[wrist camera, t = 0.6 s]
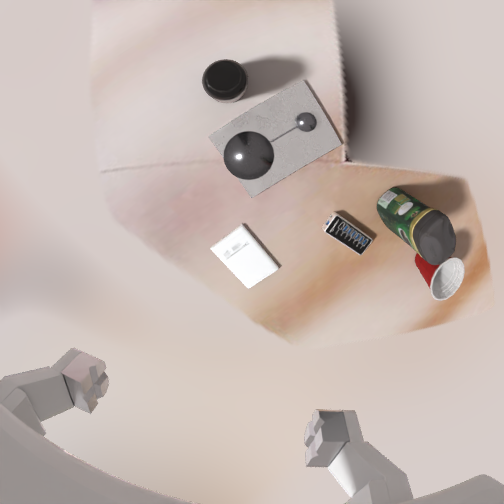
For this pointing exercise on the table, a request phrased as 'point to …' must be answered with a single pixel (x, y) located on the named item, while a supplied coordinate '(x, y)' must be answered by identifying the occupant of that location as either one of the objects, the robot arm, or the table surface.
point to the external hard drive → (244, 256)
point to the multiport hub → (346, 233)
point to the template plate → (275, 138)
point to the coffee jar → (418, 225)
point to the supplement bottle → (225, 81)
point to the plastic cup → (441, 276)
